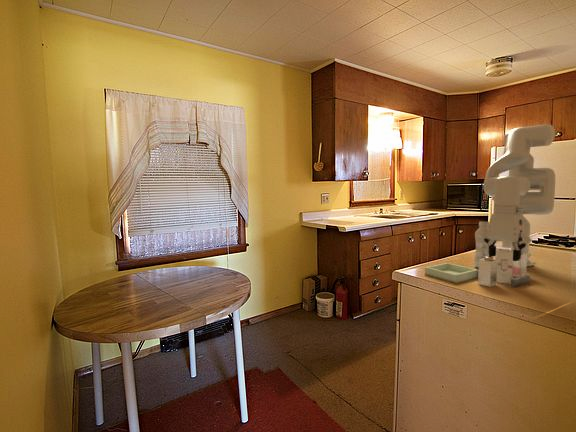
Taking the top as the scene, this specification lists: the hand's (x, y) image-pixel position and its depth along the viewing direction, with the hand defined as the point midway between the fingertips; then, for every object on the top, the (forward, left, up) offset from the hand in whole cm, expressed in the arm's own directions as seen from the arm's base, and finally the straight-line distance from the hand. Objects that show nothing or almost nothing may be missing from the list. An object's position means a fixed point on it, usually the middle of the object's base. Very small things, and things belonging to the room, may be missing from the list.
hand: (503, 258), depth 110 cm
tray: (+11, -13, -8) cm, 19 cm away
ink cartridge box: (0, 0, -9) cm, 9 cm away
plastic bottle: (-10, -13, -9) cm, 19 cm away
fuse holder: (0, 0, -8) cm, 8 cm away
